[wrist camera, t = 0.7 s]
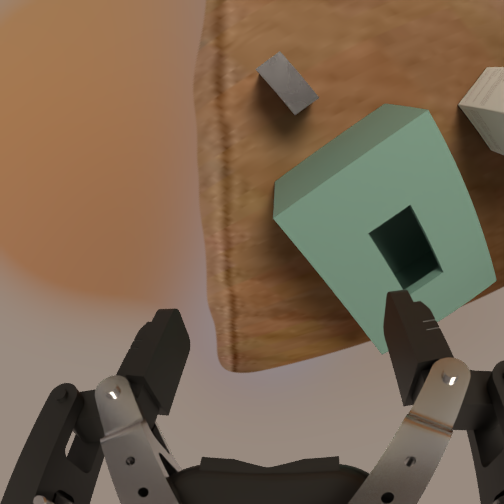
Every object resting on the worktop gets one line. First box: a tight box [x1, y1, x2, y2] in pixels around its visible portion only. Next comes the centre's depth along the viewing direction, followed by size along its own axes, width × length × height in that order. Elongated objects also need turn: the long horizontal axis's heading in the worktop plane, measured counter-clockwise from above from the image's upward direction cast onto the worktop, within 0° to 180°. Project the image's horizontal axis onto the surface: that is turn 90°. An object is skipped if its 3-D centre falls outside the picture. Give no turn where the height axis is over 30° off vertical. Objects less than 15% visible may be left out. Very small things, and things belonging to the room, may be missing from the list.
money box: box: [273, 104, 497, 354], centre depth 27 cm, size 14×18×10 cm
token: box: [256, 52, 319, 115], centre depth 25 cm, size 2×5×5 cm, turn 40°
